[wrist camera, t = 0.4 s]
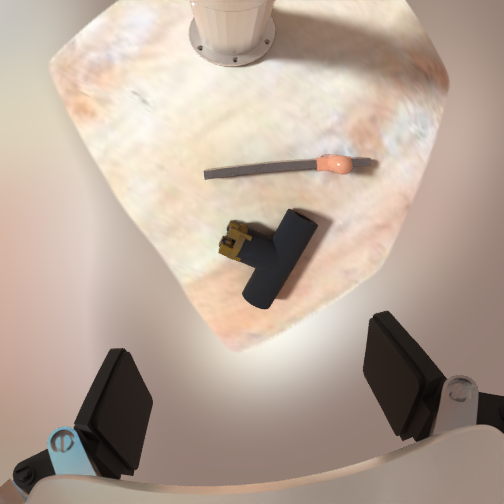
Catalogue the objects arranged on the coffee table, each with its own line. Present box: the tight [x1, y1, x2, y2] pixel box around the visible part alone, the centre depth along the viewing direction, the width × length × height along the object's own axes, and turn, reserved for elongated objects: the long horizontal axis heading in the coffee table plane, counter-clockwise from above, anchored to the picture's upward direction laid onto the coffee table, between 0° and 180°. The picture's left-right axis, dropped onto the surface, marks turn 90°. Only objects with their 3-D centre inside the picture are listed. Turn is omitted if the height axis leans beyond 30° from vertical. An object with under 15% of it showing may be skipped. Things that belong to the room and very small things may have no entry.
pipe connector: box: [219, 209, 318, 309], centre depth 42 cm, size 12×5×15 cm
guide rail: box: [204, 154, 371, 180], centre depth 36 cm, size 2×24×7 cm, turn 96°
